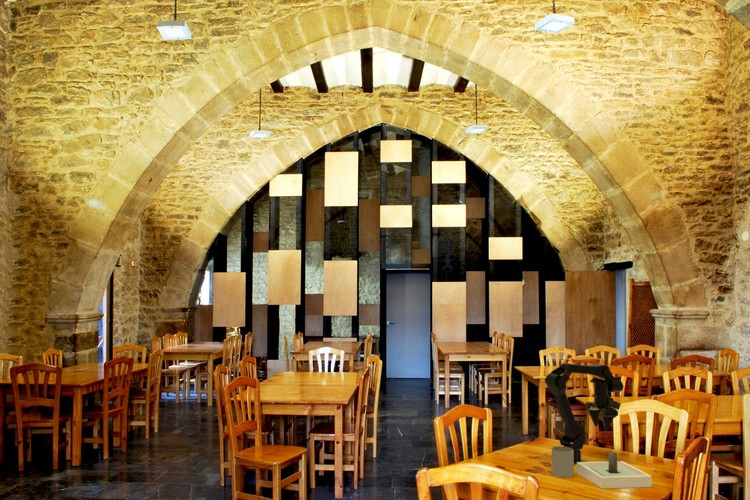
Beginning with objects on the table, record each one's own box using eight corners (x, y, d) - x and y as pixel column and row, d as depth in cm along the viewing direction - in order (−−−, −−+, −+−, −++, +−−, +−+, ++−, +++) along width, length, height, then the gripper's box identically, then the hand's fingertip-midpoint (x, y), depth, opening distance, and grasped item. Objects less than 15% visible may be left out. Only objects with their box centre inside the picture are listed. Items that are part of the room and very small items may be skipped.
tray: (601, 488, 222) (601, 477, 222) (576, 472, 242) (576, 462, 242) (651, 487, 224) (651, 476, 225) (622, 471, 244) (622, 461, 244)
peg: (611, 478, 231) (610, 454, 232) (607, 475, 234) (606, 452, 235) (619, 478, 232) (618, 454, 232) (614, 475, 235) (614, 452, 236)
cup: (573, 472, 241) (573, 447, 242) (573, 478, 233) (573, 452, 234) (552, 470, 244) (552, 445, 245) (551, 476, 236) (551, 450, 237)
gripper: (629, 396, 257) (629, 433, 256) (607, 389, 275) (607, 423, 274) (605, 396, 255) (605, 433, 254) (584, 389, 274) (584, 423, 273)
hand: (601, 428), depth 264 cm, fingers open, 9 cm apart
